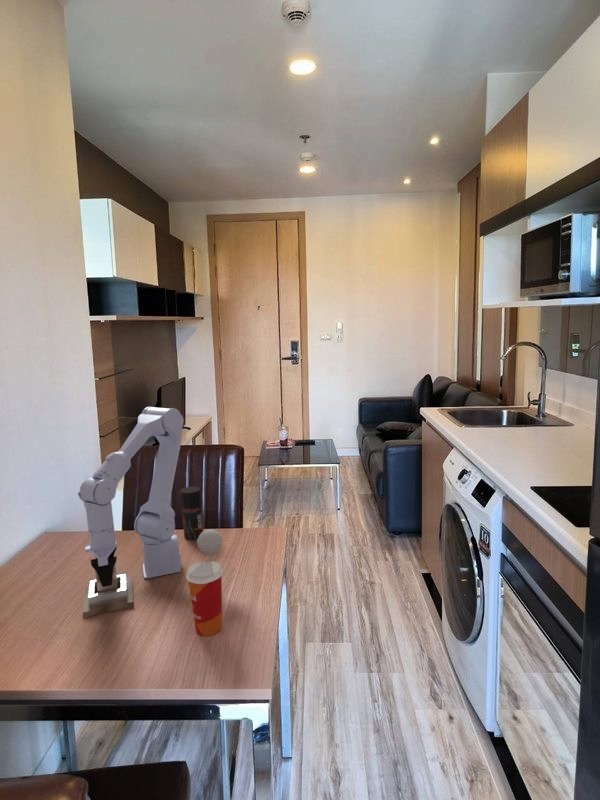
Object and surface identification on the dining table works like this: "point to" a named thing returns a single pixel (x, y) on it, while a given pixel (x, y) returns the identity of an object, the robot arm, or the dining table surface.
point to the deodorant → (191, 512)
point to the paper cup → (206, 597)
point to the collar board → (108, 597)
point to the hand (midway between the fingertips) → (107, 580)
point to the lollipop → (209, 542)
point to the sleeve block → (111, 587)
